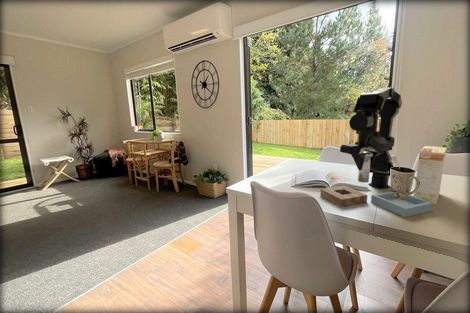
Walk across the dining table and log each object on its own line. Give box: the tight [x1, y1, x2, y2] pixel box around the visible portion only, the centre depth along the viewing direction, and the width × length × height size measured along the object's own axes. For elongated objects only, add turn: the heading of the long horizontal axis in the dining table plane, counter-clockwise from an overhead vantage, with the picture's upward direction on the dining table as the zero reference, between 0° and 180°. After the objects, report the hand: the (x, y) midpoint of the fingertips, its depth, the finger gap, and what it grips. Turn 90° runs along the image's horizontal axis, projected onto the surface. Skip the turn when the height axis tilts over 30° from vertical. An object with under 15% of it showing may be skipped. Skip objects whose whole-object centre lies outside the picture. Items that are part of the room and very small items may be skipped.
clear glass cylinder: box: [357, 150, 373, 184], centre depth 85 cm, size 5×5×11 cm
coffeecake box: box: [413, 145, 447, 205], centre depth 88 cm, size 15×7×20 cm, turn 134°
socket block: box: [320, 185, 368, 208], centre depth 91 cm, size 12×12×3 cm
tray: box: [370, 191, 435, 218], centre depth 82 cm, size 13×13×3 cm
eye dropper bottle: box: [388, 152, 401, 172], centre depth 118 cm, size 4×6×12 cm
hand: (364, 169), depth 86 cm, fingers closed on clear glass cylinder, 4 cm apart
